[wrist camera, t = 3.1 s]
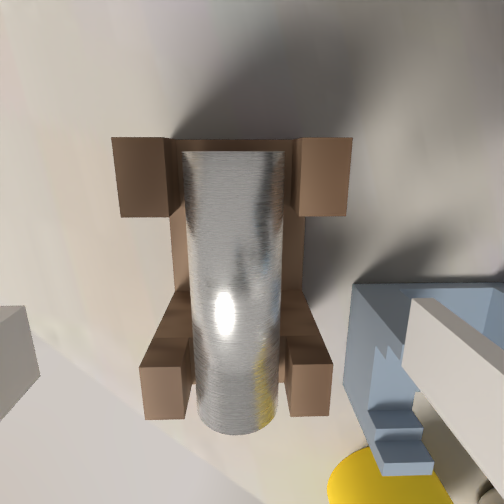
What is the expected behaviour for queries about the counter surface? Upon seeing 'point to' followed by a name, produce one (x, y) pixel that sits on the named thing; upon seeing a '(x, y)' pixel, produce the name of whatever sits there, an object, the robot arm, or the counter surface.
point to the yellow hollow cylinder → (381, 484)
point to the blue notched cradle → (390, 360)
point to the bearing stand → (179, 309)
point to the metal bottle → (491, 497)
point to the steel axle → (235, 283)
